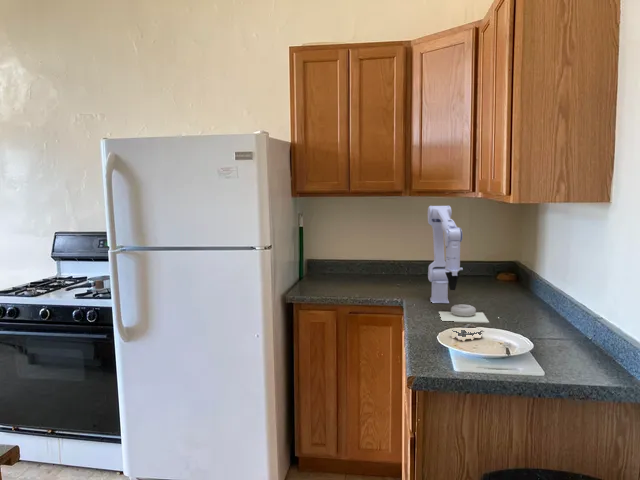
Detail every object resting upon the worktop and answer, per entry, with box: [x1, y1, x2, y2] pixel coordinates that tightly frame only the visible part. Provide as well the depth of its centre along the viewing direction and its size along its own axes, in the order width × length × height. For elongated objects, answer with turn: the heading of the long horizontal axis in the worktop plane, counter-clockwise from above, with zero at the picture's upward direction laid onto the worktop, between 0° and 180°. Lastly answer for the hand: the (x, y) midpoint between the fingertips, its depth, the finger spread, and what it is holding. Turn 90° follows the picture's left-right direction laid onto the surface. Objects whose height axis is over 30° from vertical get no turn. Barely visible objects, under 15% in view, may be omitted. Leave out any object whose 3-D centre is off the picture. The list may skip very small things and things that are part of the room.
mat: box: [438, 311, 490, 324], centre depth 198 cm, size 14×18×1 cm
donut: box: [450, 303, 477, 317], centre depth 201 cm, size 10×3×10 cm
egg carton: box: [451, 322, 485, 337], centre depth 173 cm, size 11×8×4 cm
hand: (452, 289), depth 203 cm, fingers closed
